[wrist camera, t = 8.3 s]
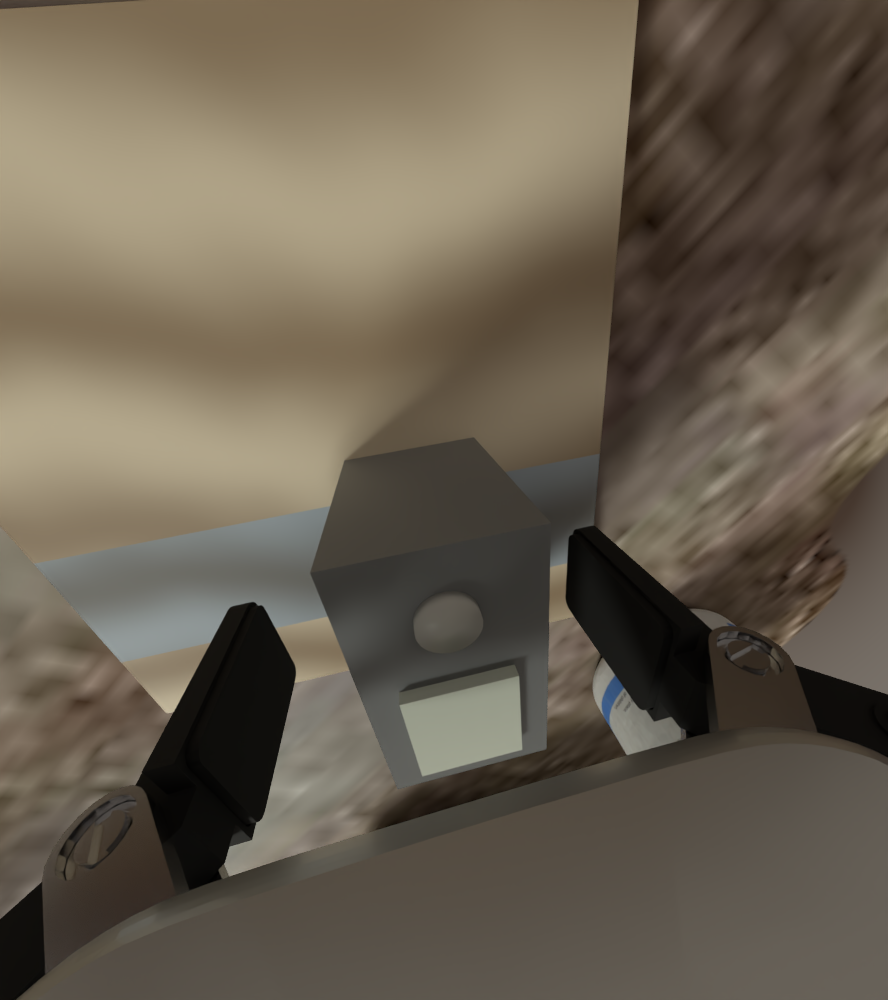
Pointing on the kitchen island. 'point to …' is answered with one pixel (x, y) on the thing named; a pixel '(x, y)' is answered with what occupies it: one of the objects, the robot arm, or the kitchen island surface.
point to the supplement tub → (624, 714)
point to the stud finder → (440, 606)
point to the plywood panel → (292, 286)
